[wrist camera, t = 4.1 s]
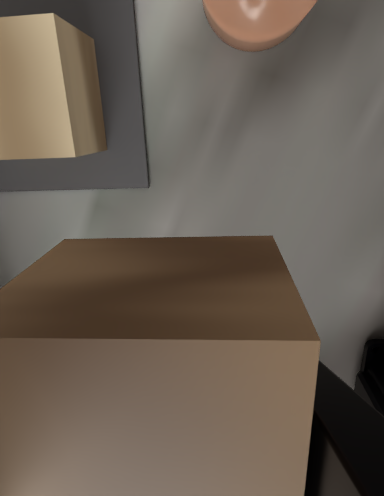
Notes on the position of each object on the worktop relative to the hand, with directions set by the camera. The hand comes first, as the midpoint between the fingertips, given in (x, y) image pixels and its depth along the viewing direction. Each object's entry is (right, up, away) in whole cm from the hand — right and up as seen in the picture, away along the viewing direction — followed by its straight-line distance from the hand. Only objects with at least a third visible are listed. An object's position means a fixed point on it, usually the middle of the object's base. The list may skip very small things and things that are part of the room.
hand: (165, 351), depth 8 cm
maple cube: (-6, +10, +9) cm, 15 cm away
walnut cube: (0, 0, +1) cm, 1 cm away
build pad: (-6, +10, +9) cm, 15 cm away
